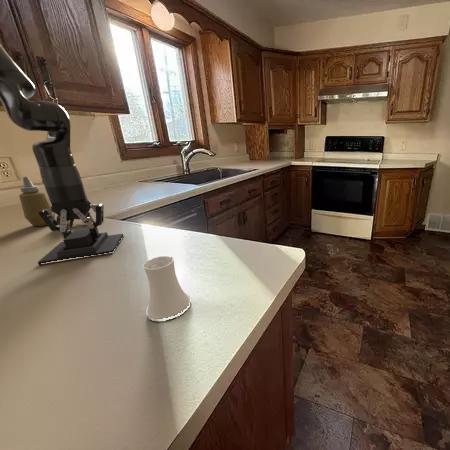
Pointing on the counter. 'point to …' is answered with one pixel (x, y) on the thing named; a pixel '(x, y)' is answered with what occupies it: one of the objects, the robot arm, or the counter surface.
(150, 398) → the counter surface
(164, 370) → the counter surface
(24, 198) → the squeeze bottle
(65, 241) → the dark grey block
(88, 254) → the base pad
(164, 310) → the vase
